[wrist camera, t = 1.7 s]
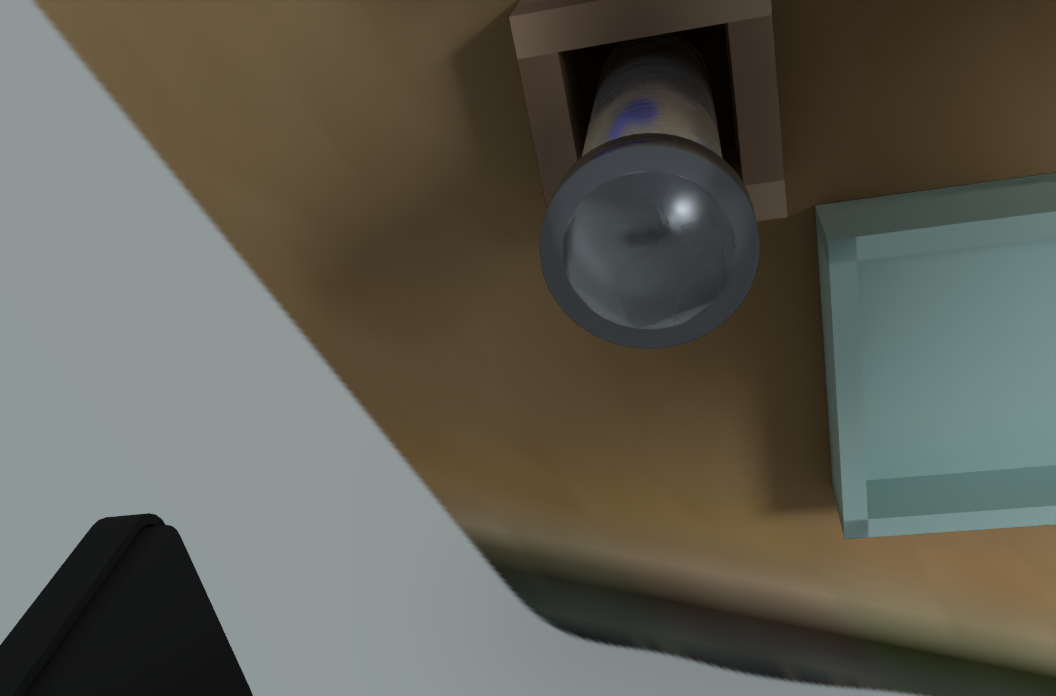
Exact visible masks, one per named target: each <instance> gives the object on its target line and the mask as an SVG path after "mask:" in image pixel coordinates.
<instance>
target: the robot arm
mask: <svg viewBox="0 0 1056 696" xmlns="http://www.w3.org/2000/svg"><path fill="white" fill-rule="evenodd" d="M0 696H253V695H252V692H251V690H250V688H249V685H248V683H247V681H246V679H245V677H244V675H243V672H242V670H241V668H240V666H239V664H238V661H237V659H236V657H235V655H234V653H233V650H232V648H231V646H230V644H229V642H228V640H227V637H226V635H225V633H224V631H223V628H222V626H221V624H220V622H219V620H218V618H217V615H216V613H215V611H214V609H213V607H212V604H211V602H210V600H209V598H208V596H207V593H206V591H205V589H204V587H203V585H202V583H201V580H200V578H199V576H198V574H197V572H196V569H195V567H194V565H193V563H192V561H191V558H190V556H189V554H188V552H187V550H186V547H185V545H184V543H183V541H182V539H181V537H180V535H179V533H178V531H177V530H176V529H175V528H174V527H172V526H169V525H165V524H164V522H163V520H162V519H161V518H159V517H158V516H157V515H154V514H139V515H128V516H117V517H106V518H104V519H101V520H98V521H97V522H96V523H95V524H94V525H93V526H92V527H91V528H90V530H89V531H88V532H87V534H86V535H85V536H84V538H83V539H82V540H81V541H80V543H79V544H78V545H77V547H76V548H75V549H74V551H73V552H72V553H71V554H70V556H69V557H68V558H67V560H66V561H65V562H64V563H63V565H62V566H61V568H60V569H59V570H58V571H57V573H56V574H55V575H54V577H53V578H52V579H51V580H50V582H49V583H48V584H47V585H46V587H45V588H44V589H43V591H42V592H41V593H40V595H39V596H38V597H37V599H36V600H35V601H34V602H33V604H32V605H31V606H30V607H29V609H28V610H27V611H26V613H25V614H24V615H23V617H22V618H21V619H20V620H19V622H18V623H17V624H16V626H15V627H14V628H13V630H12V631H11V632H10V634H9V635H8V636H7V637H6V639H5V640H4V641H3V643H2V644H1V645H0Z"/></svg>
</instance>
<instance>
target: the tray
mask: <svg viewBox="0 0 1056 696" xmlns="http://www.w3.org/2000/svg"><path fill="white" fill-rule="evenodd" d="M815 213H816V229H817V245H818V261H819V277H820V293H821V309H822V325H823V341H824V358H825V374H826V390H827V406H828V422H829V438H830V454H831V470H832V486H833V492H834V497H835V501H836V505H837V509H838V513H839V517H840V521H841V526H842V530H843V534H844V538H845V539H852V538H867V537H881V536H895V535H909V534H924V533H938V532H952V531H966V530H981V529H995V528H1009V527H1023V526H1038V525H1052V524H1056V173H1050V174H1042V175H1035V176H1028V177H1020V178H1013V179H1006V180H998V181H991V182H983V183H976V184H969V185H961V186H954V187H947V188H939V189H932V190H925V191H917V192H910V193H903V194H895V195H888V196H880V197H873V198H866V199H858V200H851V201H844V202H836V203H829V204H822V205H815Z"/></svg>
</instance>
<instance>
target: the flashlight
mask: <svg viewBox="0 0 1056 696" xmlns="http://www.w3.org/2000/svg"><path fill="white" fill-rule="evenodd" d="M759 255H760V238H759V232H758V226H757V221H756V217H755V212H754V208H753V204H752V201H751V198H750V195H749V193H748V191H747V189H746V187H745V185H744V183H743V182H742V180H741V179H740V177H739V176H738V174H737V173H736V172H735V171H734V169H733V168H732V167H731V166H730V165H729V164H728V163H727V162H726V161H725V160H724V159H723V158H722V152H721V146H720V139H719V133H718V127H717V120H716V114H715V108H714V101H713V95H712V89H711V82H710V76H709V71H708V68H707V65H706V63H705V61H704V59H703V57H702V56H701V54H700V53H699V51H698V50H697V49H696V48H695V47H694V46H693V45H692V44H691V43H689V42H688V41H687V40H685V39H683V38H682V37H680V36H677V35H675V34H672V33H665V34H660V35H654V36H648V37H642V38H637V39H631V40H625V41H624V42H622V43H621V44H620V45H618V46H617V47H616V48H615V49H614V50H613V51H612V53H611V54H610V55H609V57H608V58H607V60H606V61H605V64H604V66H603V68H602V71H601V74H600V78H599V82H598V87H597V91H596V96H595V100H594V105H593V109H592V113H591V118H590V122H589V127H588V131H587V136H586V140H585V144H584V149H583V153H582V157H581V158H580V159H579V160H578V161H576V162H575V163H574V164H573V165H572V166H571V167H570V168H569V170H568V171H567V172H566V173H565V174H564V175H563V177H562V178H561V180H560V182H559V183H558V185H557V186H556V188H555V190H554V192H553V195H552V197H551V199H550V202H549V205H548V209H547V212H546V216H545V219H544V223H543V227H542V231H541V238H540V259H541V266H542V270H543V274H544V278H545V281H546V283H547V285H548V288H549V290H550V292H551V294H552V295H553V297H554V299H555V300H556V302H557V303H558V305H559V306H560V307H561V308H562V310H563V311H564V312H565V313H566V314H567V315H568V316H569V317H570V318H571V319H572V320H573V321H574V322H575V323H577V324H578V325H579V326H581V327H582V328H583V329H585V330H586V331H588V332H590V333H592V334H593V335H595V336H597V337H599V338H602V339H604V340H606V341H609V342H612V343H615V344H619V345H622V346H628V347H634V348H648V349H650V348H664V347H670V346H676V345H679V344H683V343H686V342H690V341H692V340H694V339H697V338H699V337H701V336H703V335H705V334H707V333H708V332H710V331H712V330H714V329H715V328H716V327H718V326H719V325H720V324H722V323H723V322H724V321H725V320H727V319H728V318H729V317H730V316H731V315H732V314H733V313H734V312H735V310H736V309H737V308H738V307H739V305H740V304H741V303H742V302H743V300H744V298H745V297H746V295H747V294H748V292H749V290H750V288H751V286H752V283H753V281H754V279H755V275H756V272H757V268H758V263H759Z"/></svg>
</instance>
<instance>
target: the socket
mask: <svg viewBox="0 0 1056 696" xmlns="http://www.w3.org/2000/svg"><path fill="white" fill-rule="evenodd" d="M509 20H510V25H511V30H512V35H513V40H514V45H515V50H516V56H517V61H518V66H519V71H520V76H521V81H522V86H523V91H524V96H525V101H526V106H527V111H528V116H529V121H530V126H531V131H532V136H533V141H534V146H535V151H536V156H537V161H538V166H539V171H540V177H541V182H542V187H543V192H544V197H545V202H546V207H547V209H548V205H549V202H550V199H551V197H552V195H553V192H554V190H555V188H556V186H557V185H558V183H559V182H560V180H561V178H562V177H563V175H564V174H565V173H566V172H567V171H568V170H569V168H570V167H571V166H572V165H573V164H574V163H575V162H576V161H578V160H579V159H580V158H581V157H582V153H583V149H584V144H585V140H586V136H587V131H586V125H585V119H584V114H583V108H582V102H581V96H580V90H579V84H578V79H577V73H576V67H575V61H574V55H573V50H574V49H580V48H585V47H591V46H597V45H602V44H608V43H614V42H620V41H625V40H631V39H637V38H642V37H648V36H654V35H660V34H665V33H671V32H677V31H683V30H688V29H694V28H700V27H705V26H711V25H717V24H723V23H724V31H725V41H726V51H727V62H728V72H729V82H730V92H731V102H732V112H733V122H734V132H735V142H736V148H733V149H726V150H721V152H722V158H723V159H724V160H725V161H726V162H727V163H728V164H729V165H730V166H731V167H732V168H733V169H734V171H735V172H736V173H737V174H738V176H739V177H740V179H741V180H742V182H743V183H744V185H745V187H746V189H747V191H748V193H749V195H750V198H751V201H752V204H753V208H754V212H755V217H756V221H764V220H771V219H779V218H786V217H788V216H787V203H786V190H785V177H784V164H783V151H782V138H781V125H780V112H779V99H778V85H777V72H776V59H775V46H774V33H773V20H772V7H771V0H520V2H519V3H518V4H517V6H516V7H515V9H514V10H513V12H512V13H511V15H510V16H509Z"/></svg>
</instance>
